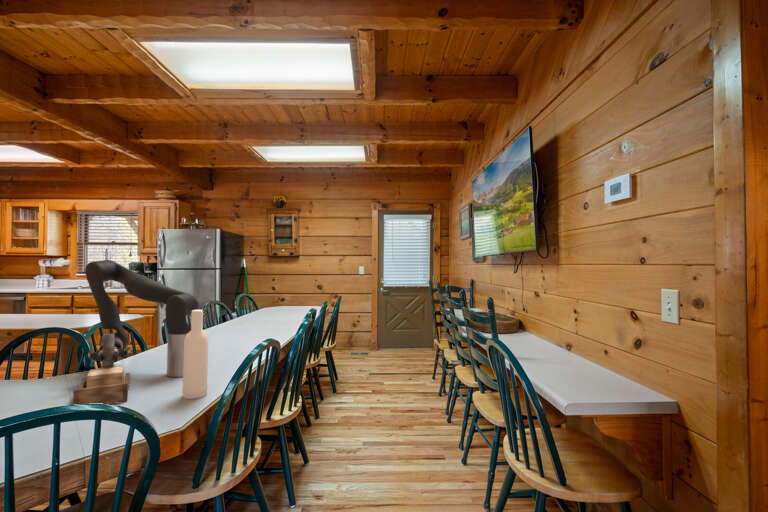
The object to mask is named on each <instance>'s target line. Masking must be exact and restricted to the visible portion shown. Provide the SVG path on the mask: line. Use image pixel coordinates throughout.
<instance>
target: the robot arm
mask: <svg viewBox="0 0 768 512" xmlns="http://www.w3.org/2000/svg"><path fill="white" fill-rule="evenodd" d="M84 269H85V270H84V273H85V278H86V281H87V284H88V285H89V288H90V291H91V294H92V297H93V298H94V301H95V303H96V306H97V310H98V315H99V316H98V317H99V320H100V326H101V328H102V329H103V330H115V331H116V332H112V333H111V334H115V341H114V355H113V360H114V361H116V360H118V359H119V358H125V357H127V356H129V355H131V347H127V346H128V345H129V341H130V339H129V336H128V334H127V332H126V331H125V329H124V327H123V324H122V321H121V317H120V311H119V307H118V305H117V304H116V302H115V301H114V300H113V299H112V298H111V296H109V294H108V293H107V291H106V289H105V285H104V282H109V281H113V282H116V283H120V284H122V285H123V286H124V289H125V290H126V292H127V293H128V294H129V295H130V296H133V297H135V298H138V299H140V300H143V301H147V302H151V303H152V302H153V303H157V304H164V305H165V309H164V310H165V313H164V314H165V327H166V329H167V346H166V347H167V348H166V350H167V351H166V353H167V354H166V376H167V377H168V376H169V377H168V378H180V377H183V362H184V340H185V337H186V335H187V334H188V333H189V332H190V331H191V323H188V321H187V316H189V315H190V316H191V313H192V310H199V302H198V299H197V298H196V296H194V295H193V294H191V293H187V292H185V291H181V290H177V289H175V288H172V287H170V286H168V285H165V284H164V283H162V282H158V281H156V280H155V279H152V278H150V277H147V276H146V275H142V274H139V273H138V272H136V271H133V270H130V269H128V268H127V267H125V266H123V265H121V264H120V263H118V262H116V261H114V260H111V259H105V260H97V261H96V260H94V261H90V262H88V263H87V264H86V266H85V268H84ZM98 343H99V349H98V350H96V352H95V350H89V351H88V352H87V358H88V359H90V360H92V361H98V362H99V363H100V362H101V363H102V346H103V335H102V336H100V338H99V340H98Z"/></svg>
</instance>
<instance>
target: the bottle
mask: <svg viewBox="0 0 768 512" xmlns="http://www.w3.org/2000/svg"><path fill="white" fill-rule="evenodd" d="M190 316H191V322H190V324H191V331H190V332H189V333H188V334H187V335H186V337H185V340H184V362H183V376H182V390H181V391H182V392H181V393H182V397H183V399H187V400H196V399H200V398H203V397H205V396H207V395H208V388H209V387H208V386H209V385H208V378H209V377H208V376H209V374H208V372H209V368H208V367H209V342H210V341H209V336H208V334H207V332H206V331H205V330H204V329H203V326H204V322H203V320H204V318H203V317H204V310H202V309H197V310H192V313H191V314H190Z"/></svg>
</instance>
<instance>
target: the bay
mask: <svg viewBox="0 0 768 512" xmlns="http://www.w3.org/2000/svg"><path fill="white" fill-rule="evenodd" d="M130 379H131V373H130V372H126V373H125V377H124V381H123V383H122V384H114V385H106V386H98V387H90V388H87V382H86V380H87V377H83V378H82V379H81V381H80V383H79V384H78V387H77V388H75V389H74V390H73V402H72V403H73V404H89V403H103V404H109V405H114V404H117V403H116V402H122V403H128V399H129V392H130V385H129V384H130ZM128 391H129V392H128ZM127 398H128V399H127Z"/></svg>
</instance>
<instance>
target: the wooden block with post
mask: <svg viewBox="0 0 768 512" xmlns="http://www.w3.org/2000/svg"><path fill="white" fill-rule="evenodd" d="M102 336H103V346H102V361H101V368H93V369H90V370H89V372H88V374H87V376H86V378H87V380H86V382H87V388H90V387H98V386H106V385H114V384H122V383H124V373H125V369H124V367H125V366H124V365H123V366H115V365H114V364H115V360H113V355H114V341H115V334H112V333H105V334H103V335H102Z"/></svg>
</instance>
